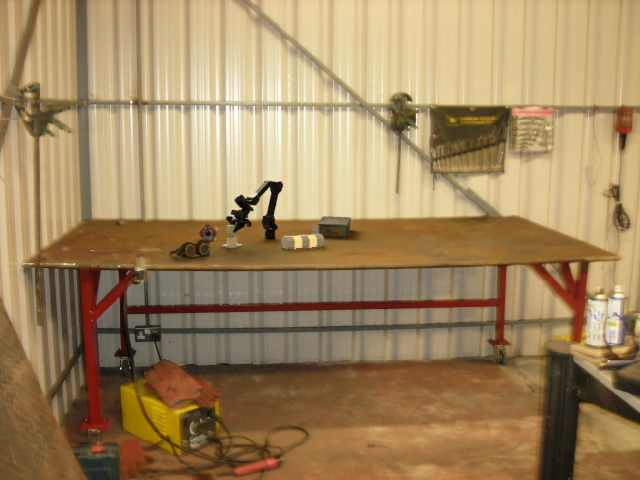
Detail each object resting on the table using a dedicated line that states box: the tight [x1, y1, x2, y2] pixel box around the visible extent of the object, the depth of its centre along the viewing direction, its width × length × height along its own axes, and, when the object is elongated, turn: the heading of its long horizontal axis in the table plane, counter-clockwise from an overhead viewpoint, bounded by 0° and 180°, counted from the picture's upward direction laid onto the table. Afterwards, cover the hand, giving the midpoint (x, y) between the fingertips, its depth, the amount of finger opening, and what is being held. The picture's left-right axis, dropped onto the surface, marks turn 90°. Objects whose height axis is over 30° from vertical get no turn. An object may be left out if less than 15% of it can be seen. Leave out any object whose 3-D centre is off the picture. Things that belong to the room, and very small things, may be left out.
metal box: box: [317, 215, 352, 239], centre depth 463 cm, size 21×32×10 cm, turn 174°
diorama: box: [281, 224, 325, 250], centre depth 416 cm, size 25×10×13 cm, turn 113°
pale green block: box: [226, 224, 238, 235], centre depth 415 cm, size 7×2×5 cm, turn 141°
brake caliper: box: [198, 223, 217, 242], centre depth 437 cm, size 11×11×12 cm
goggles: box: [169, 239, 211, 258], centre depth 393 cm, size 24×24×10 cm
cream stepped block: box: [221, 234, 243, 249], centre depth 416 cm, size 10×8×6 cm
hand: (232, 231), depth 415 cm, fingers closed on pale green block, 2 cm apart
